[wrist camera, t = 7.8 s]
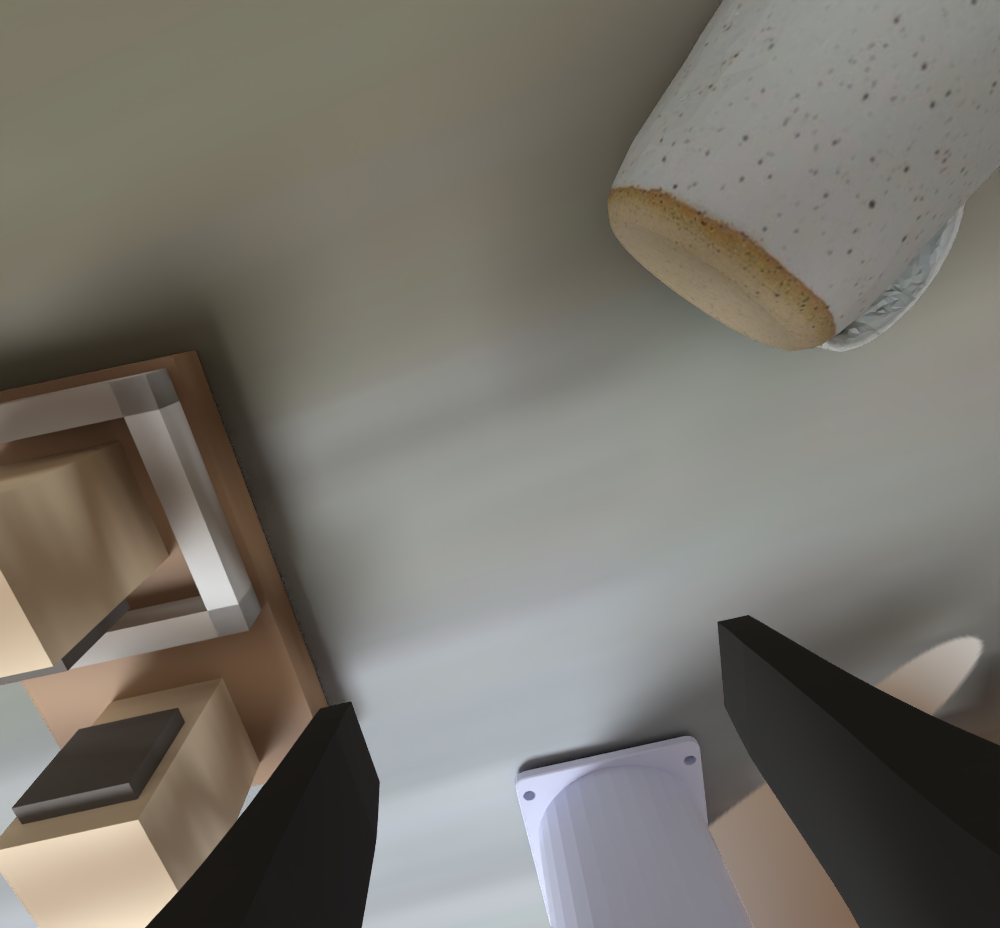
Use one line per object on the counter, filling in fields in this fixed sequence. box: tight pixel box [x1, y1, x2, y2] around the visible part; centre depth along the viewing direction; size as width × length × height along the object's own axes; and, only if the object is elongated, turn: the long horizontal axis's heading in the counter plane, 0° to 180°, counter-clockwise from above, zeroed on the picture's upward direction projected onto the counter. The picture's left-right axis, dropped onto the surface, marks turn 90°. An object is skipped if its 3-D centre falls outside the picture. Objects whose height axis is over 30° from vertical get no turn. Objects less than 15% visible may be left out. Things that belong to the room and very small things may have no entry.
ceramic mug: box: [607, 0, 1000, 351], centre depth 14 cm, size 11×8×8 cm
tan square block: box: [0, 441, 169, 685], centre depth 15 cm, size 5×4×6 cm
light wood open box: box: [0, 350, 329, 928], centre depth 17 cm, size 16×9×7 cm, turn 11°
